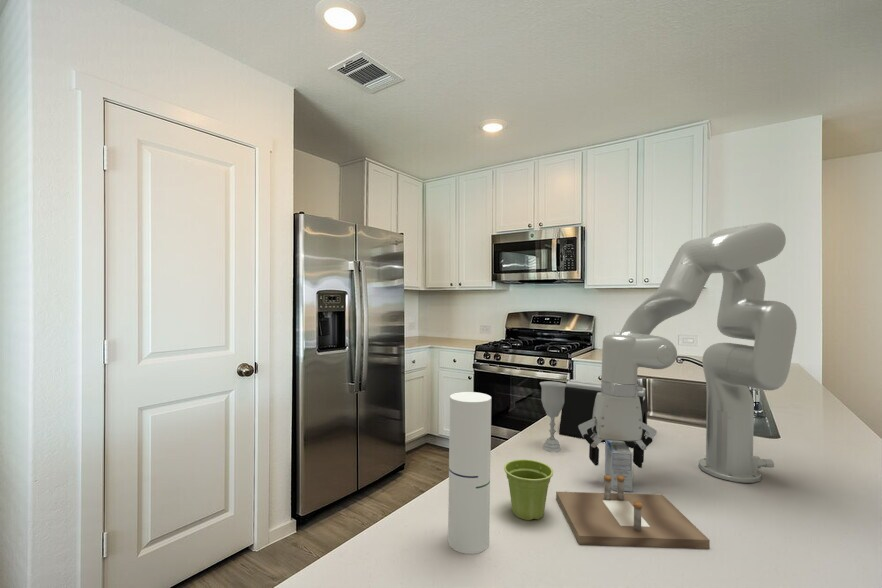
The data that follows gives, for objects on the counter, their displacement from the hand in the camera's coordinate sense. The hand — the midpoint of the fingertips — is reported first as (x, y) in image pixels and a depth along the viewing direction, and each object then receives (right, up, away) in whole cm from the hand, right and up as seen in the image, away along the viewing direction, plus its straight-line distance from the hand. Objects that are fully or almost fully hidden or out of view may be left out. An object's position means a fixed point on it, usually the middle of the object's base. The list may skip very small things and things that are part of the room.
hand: (615, 464), depth 95 cm
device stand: (+12, -5, +37) cm, 39 cm away
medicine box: (+1, -5, 0) cm, 5 cm away
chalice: (-9, -5, +21) cm, 24 cm away
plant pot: (-23, -4, -13) cm, 27 cm away
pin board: (-5, -4, -16) cm, 17 cm away
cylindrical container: (-35, -4, -23) cm, 42 cm away
